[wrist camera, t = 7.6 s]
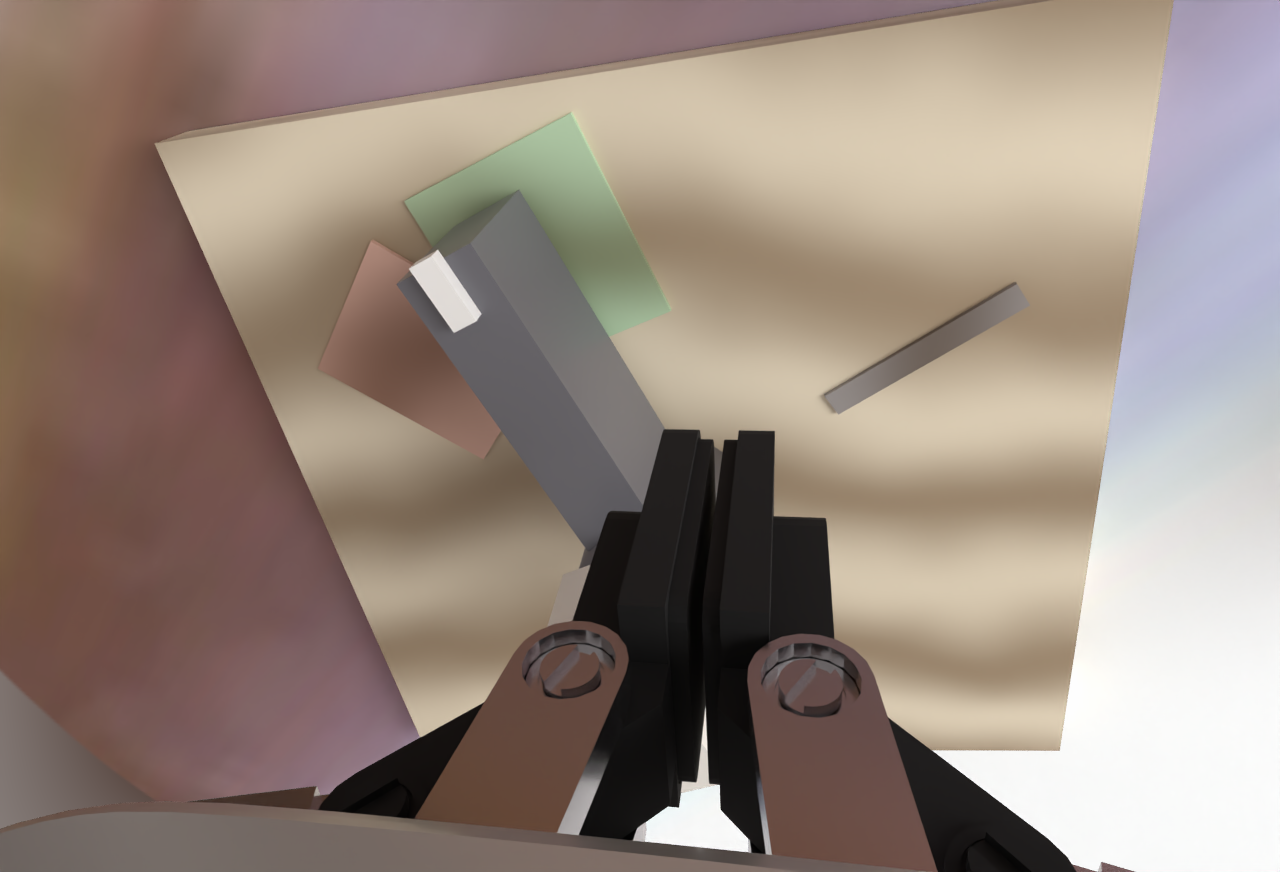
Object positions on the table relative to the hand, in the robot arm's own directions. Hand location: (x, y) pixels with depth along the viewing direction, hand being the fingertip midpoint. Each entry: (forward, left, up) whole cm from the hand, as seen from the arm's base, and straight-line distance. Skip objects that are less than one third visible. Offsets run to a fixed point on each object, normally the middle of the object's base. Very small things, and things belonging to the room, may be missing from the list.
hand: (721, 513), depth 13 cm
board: (-7, +3, -12) cm, 14 cm away
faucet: (-3, +4, -10) cm, 11 cm away
